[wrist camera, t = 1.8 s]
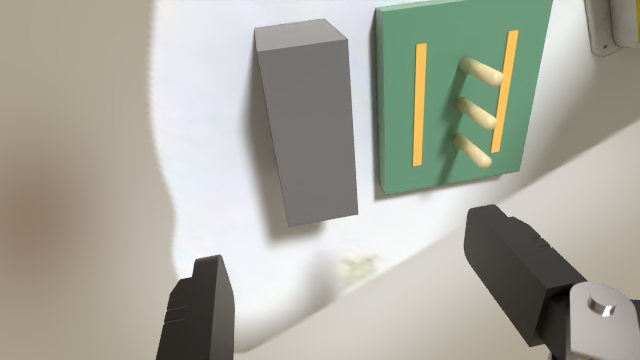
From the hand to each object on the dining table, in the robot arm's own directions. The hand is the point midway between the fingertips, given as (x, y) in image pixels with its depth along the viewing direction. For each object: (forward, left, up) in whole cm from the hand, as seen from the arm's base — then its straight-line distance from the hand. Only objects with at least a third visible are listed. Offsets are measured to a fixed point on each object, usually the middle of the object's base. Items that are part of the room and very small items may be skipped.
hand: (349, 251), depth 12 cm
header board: (+1, +10, -14) cm, 17 cm away
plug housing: (0, 0, -14) cm, 14 cm away
